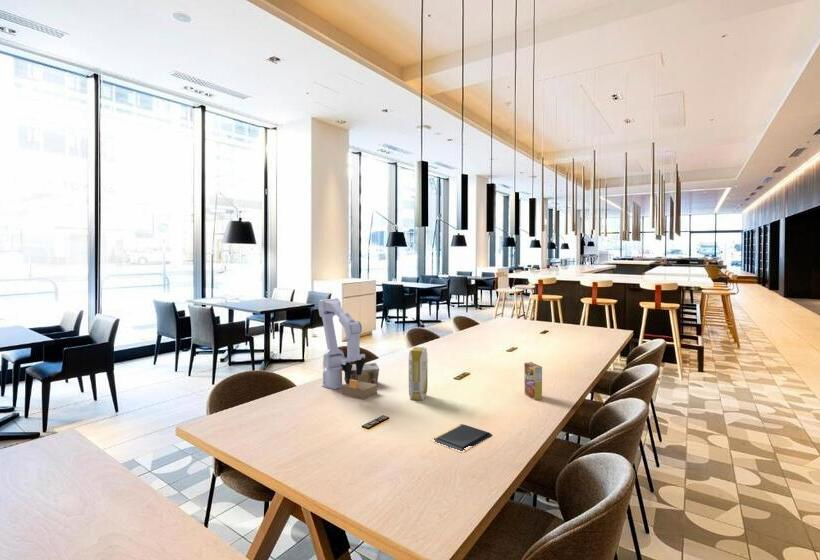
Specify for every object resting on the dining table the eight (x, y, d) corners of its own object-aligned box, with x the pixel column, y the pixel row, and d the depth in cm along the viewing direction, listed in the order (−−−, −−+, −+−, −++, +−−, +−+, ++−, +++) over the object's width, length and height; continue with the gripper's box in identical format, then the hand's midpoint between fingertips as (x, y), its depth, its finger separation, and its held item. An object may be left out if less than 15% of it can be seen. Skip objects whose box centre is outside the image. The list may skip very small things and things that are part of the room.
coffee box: (377, 384, 226) (346, 386, 220) (374, 377, 232) (344, 379, 226) (379, 368, 223) (348, 371, 217) (376, 361, 229) (345, 364, 223)
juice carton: (424, 401, 200) (424, 348, 198) (407, 400, 201) (407, 348, 200) (428, 394, 209) (428, 344, 207) (411, 393, 210) (411, 343, 209)
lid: (341, 386, 210) (341, 378, 209) (356, 381, 218) (356, 373, 218) (363, 391, 202) (363, 383, 202) (377, 385, 211) (377, 377, 210)
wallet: (461, 449, 149) (428, 436, 159) (461, 455, 149) (428, 441, 159) (495, 431, 163) (461, 420, 174) (494, 436, 163) (461, 425, 174)
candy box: (523, 394, 209) (523, 362, 208) (531, 393, 210) (531, 361, 209) (534, 400, 200) (534, 367, 199) (542, 399, 202) (542, 366, 201)
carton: (342, 394, 210) (342, 386, 210) (356, 388, 218) (356, 381, 218) (363, 399, 203) (363, 391, 202) (377, 393, 211) (377, 386, 211)
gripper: (349, 351, 197) (349, 381, 198) (369, 346, 209) (370, 374, 210) (337, 350, 201) (338, 379, 202) (358, 344, 213) (358, 371, 214)
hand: (353, 376), depth 206 cm, fingers open, 7 cm apart
